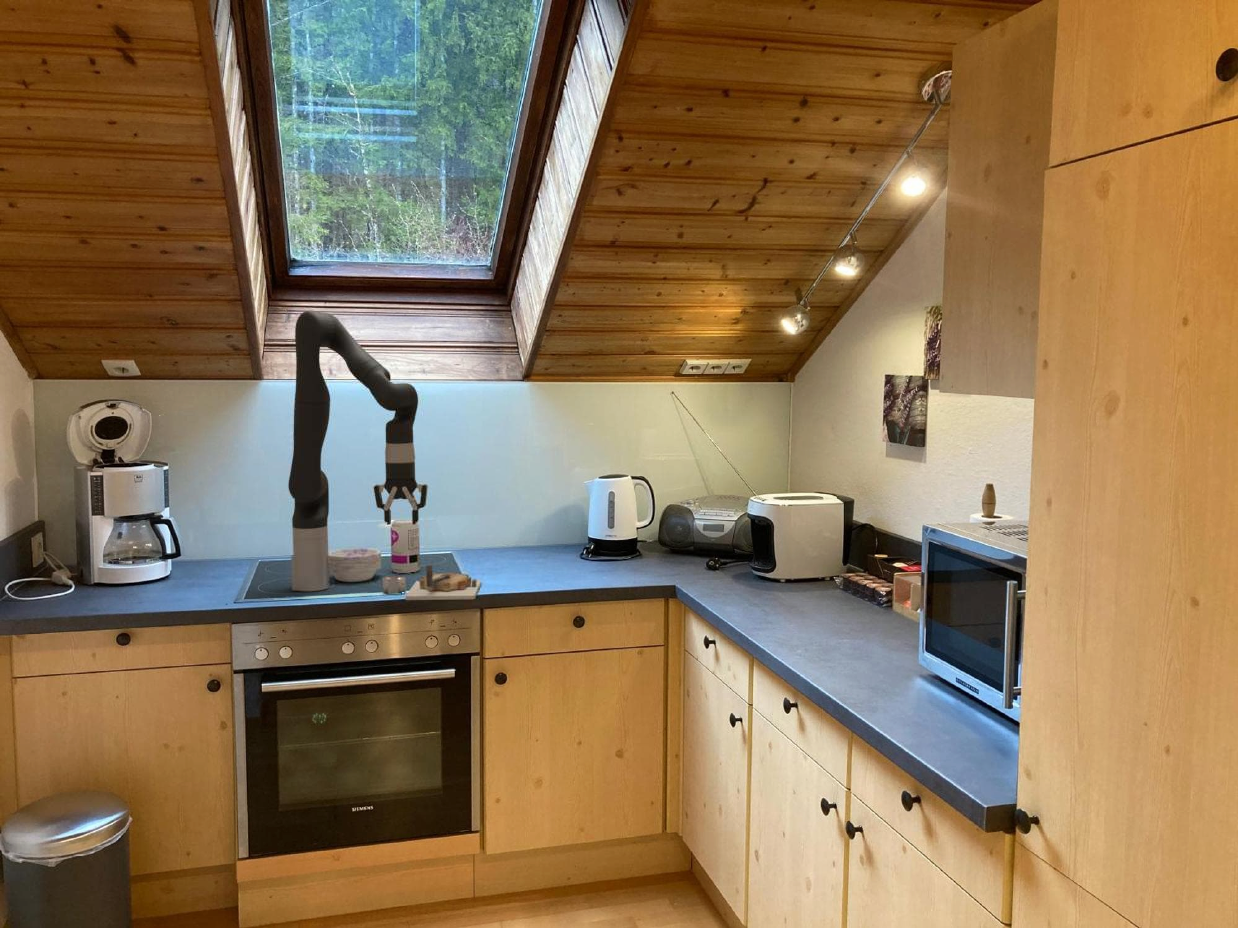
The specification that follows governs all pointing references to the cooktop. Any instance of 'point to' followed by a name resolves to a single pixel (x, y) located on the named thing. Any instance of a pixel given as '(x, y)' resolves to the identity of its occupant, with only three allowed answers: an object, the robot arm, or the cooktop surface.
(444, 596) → the plate
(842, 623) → the cooktop surface
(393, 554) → the supplement can
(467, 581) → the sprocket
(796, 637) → the cooktop surface
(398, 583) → the link
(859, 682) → the cooktop surface
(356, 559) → the paper bowls
